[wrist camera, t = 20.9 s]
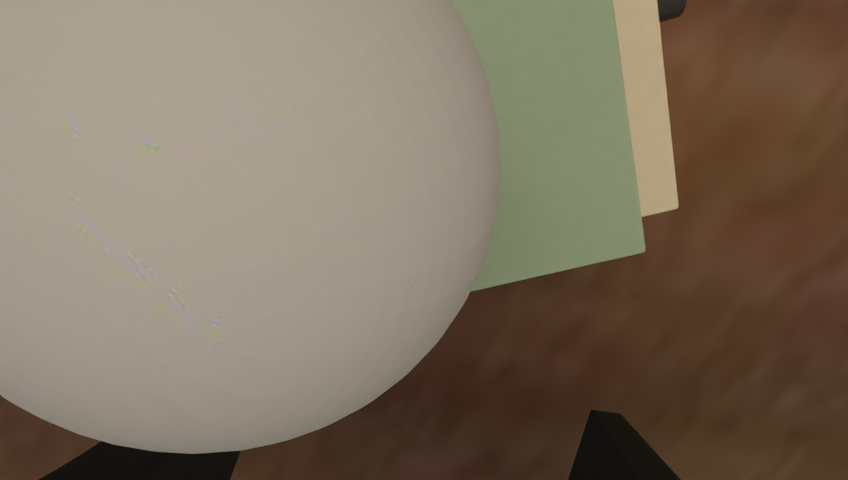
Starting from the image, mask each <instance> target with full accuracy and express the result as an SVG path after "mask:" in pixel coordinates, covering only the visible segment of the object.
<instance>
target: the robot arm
mask: <svg viewBox="0 0 848 480" xmlns="http://www.w3.org/2000/svg"><path fill="white" fill-rule="evenodd" d="M239 453H240V451H228V452H213V453H199V454H187V453H169V452H155V451H148V450H142V449H136V448H131V447H125V446H119V445H113V444H110V443H107V442H103V441H101V442H100V443H98V444H97V445H95V446H94V447H92V448H91V449H89V450H88V451H86V452H85V453H83V454H81V455H80V456H78V457H77V458H75V459H73V460H72V461H70V462H68V463H67V464H65V465H63V466H62V467H60V468H58V469H57V470H55V471H53V472H51V473H49V474H48V475H46V476H44V477H42V478H41V479H39V480H230V478H231V475H232V473H233V470H234V467H235V465H236V462H237V459H238V456H239ZM568 480H680V479H679V477H678V476H677V475H676V474H675V473H674V472H673V471H672V470H671V469H670V468H669V467H668V466H667V464H666V463H665V462H664V461H663V460H662V459H661V458H660V457H659V456H658V455H657V453H656V452H655V451H654V450H653V449H652V448H651V447H650V446H649V445H648V443H647V442H646V441H645V440H644V439H643V438H642V437H641V436H640V435H639V434H638V432H637V431H636V430H635V429H634V428H633V427H632V426H631V425H630V424H629V423H628V422H627V421H626V420H625V419H624V418H623V416H622V415H621V414H618V413H610V412H603V411H596V410H591V411H590V414H589V417H588V421H587V424H586V427H585V430H584V433H583V436H582V439H581V442H580V445H579V448H578V451H577V454H576V457H575V460H574V464H573V467H572V470H571V473H570V476H569V479H568Z"/></svg>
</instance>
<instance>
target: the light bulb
mask: <svg viewBox="0 0 848 480" xmlns="http://www.w3.org/2000/svg"><path fill="white" fill-rule="evenodd" d="M500 171H501V164H500V149H499V134H498V123H497V118H496V114H495V110H494V105H493V101H492V97H491V92H490V88H489V84H488V79H487V76H486V74H485V71H484V69H483V66H482V64H481V61H480V59H479V56H478V54H477V51H476V49H475V46H474V44H473V41H472V39H471V36H470V34H469V32H468V30H467V29H466V27H465V25H464V24H463V22H462V20H461V19H460V17H459V15H458V14H457V12H456V10H455V8H454V7H453V5H452V3H451V2H450V0H0V395H1V396H2V397H4V398H5V399H7V400H8V401H10V402H11V403H13V404H15V405H17V406H19V407H21V408H22V409H24V410H26V411H28V412H30V413H32V414H33V415H35V416H37V417H39V418H41V419H43V420H45V421H48V422H50V423H53V424H55V425H57V426H60V427H62V428H65V429H67V430H70V431H72V432H74V433H77V434H79V435H83V436H86V437H89V438H93V439H96V440H100V441H103V442H107V443H110V444H113V445H119V446H125V447H131V448H136V449H142V450H148V451H155V452H169V453H187V454H199V453H213V452H228V451H241V450H246V449H251V448H256V447H261V446H266V445H270V444H275V443H279V442H283V441H287V440H290V439H293V438H296V437H298V436H301V435H304V434H307V433H310V432H313V431H315V430H318V429H321V428H323V427H325V426H328V425H330V424H332V423H334V422H336V421H338V420H340V419H342V418H343V417H345V416H347V415H349V414H351V413H353V412H355V411H357V410H358V409H360V408H362V407H364V406H365V405H367V404H369V403H370V402H372V401H373V400H375V399H376V398H377V397H379V396H380V395H381V394H382V393H384V392H385V391H386V390H388V389H389V388H390V387H392V386H393V385H394V384H396V383H397V382H398V381H400V380H401V379H402V378H403V377H404V376H406V375H407V374H408V373H409V372H410V371H411V370H412V369H413V368H414V367H415V366H416V365H417V364H418V363H419V362H420V361H421V360H422V358H423V357H424V356H425V355H426V354H427V353H428V352H429V351H430V350H431V349H432V348H433V347H434V346H435V345H436V344H437V342H438V341H439V340H440V339H441V337H442V336H443V334H444V333H445V331H446V330H447V329H448V327H449V326H450V324H451V323H452V321H453V320H454V318H455V317H456V315H457V314H458V312H459V311H460V309H461V308H462V306H463V305H464V303H465V301H466V299H467V297H468V295H469V293H470V291H471V289H472V286H473V284H474V282H475V280H476V278H477V275H478V273H479V271H480V269H481V267H482V265H483V262H484V259H485V256H486V253H487V249H488V245H489V241H490V237H491V234H492V230H493V226H494V222H495V219H496V213H497V203H498V192H499V182H500Z"/></svg>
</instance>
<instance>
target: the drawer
mask: <svg viewBox="0 0 848 480" xmlns="http://www.w3.org/2000/svg"><path fill="white" fill-rule="evenodd" d="M686 1H687V0H613V5H614V12H615V20H616V27H617V35H618V43H619V50H620V58H621V65H622V73H623V80H624V88H625V96H626V103H627V111H628V118H629V126H630V133H631V141H632V149H633V156H634V164H635V171H636V179H637V187H638V194H639V202H640V209H641V217H644V216H648V215H652V214H657V213H661V212H665V211H670V210H674V209H677V208H678V196H677V186H676V177H675V167H674V157H673V148H672V138H671V129H670V119H669V109H668V100H667V90H666V80H665V71H664V61H663V51H662V42H661V32H660V23H659V22H662V21H666V20H669V19H673V18H677V17H679V16H680V15H681V14H682V13H683V11H684V9H685V6H686Z"/></svg>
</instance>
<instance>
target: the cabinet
mask: <svg viewBox="0 0 848 480" xmlns="http://www.w3.org/2000/svg"><path fill="white" fill-rule="evenodd" d="M450 2H451V3H452V5H453V7H454V8H455V10H456V12H457V14H458V15H459V17H460V19H461V20H462V22H463V24H464V25H465V27H466V29H467V30H468V32H469V34H470V36H471V39H472V41H473V44H474V46H475V49H476V51H477V54H478V56H479V59H480V61H481V64H482V66H483V69H484V71H485V74H486V76H487V79H488V84H489V88H490V92H491V97H492V101H493V105H494V110H495V114H496V118H497V123H498V134H499V149H500V164H501V171H500V182H499V192H498V203H497V213H496V219H495V222H494V226H493V230H492V234H491V237H490V241H489V245H488V249H487V253H486V256H485V259H484V262H483V265H482V267H481V269H480V271H479V273H478V275H477V278H476V280H475V282H474V284H473V286H472V289H471V291H476V290H480V289H484V288H489V287H493V286H498V285H502V284H507V283H511V282H515V281H520V280H524V279H529V278H533V277H538V276H542V275H547V274H551V273H555V272H560V271H564V270H569V269H573V268H578V267H582V266H586V265H591V264H595V263H600V262H604V261H609V260H613V259H617V258H622V257H626V256H631V255H635V254H640V253H644V252H645V250H646V247H645V240H644V232H643V224H642V217H641V209H640V202H639V194H638V187H637V179H636V171H635V164H634V156H633V149H632V141H631V133H630V126H629V118H628V111H627V103H626V96H625V88H624V80H623V73H622V65H621V58H620V50H619V43H618V35H617V27H616V20H615V12H614V5H613V0H450ZM471 291H470V292H471Z"/></svg>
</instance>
